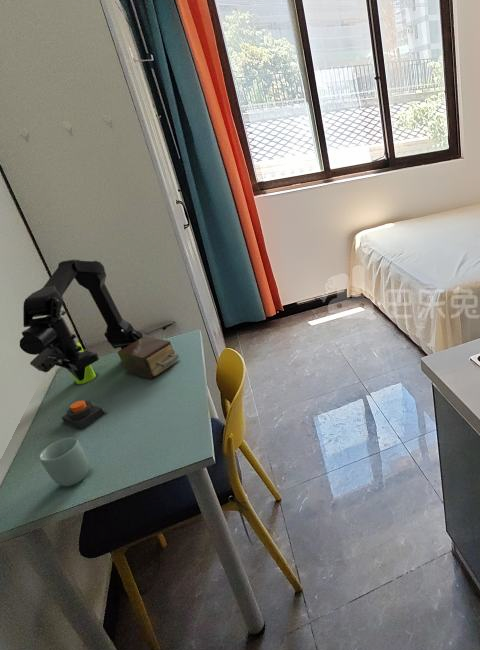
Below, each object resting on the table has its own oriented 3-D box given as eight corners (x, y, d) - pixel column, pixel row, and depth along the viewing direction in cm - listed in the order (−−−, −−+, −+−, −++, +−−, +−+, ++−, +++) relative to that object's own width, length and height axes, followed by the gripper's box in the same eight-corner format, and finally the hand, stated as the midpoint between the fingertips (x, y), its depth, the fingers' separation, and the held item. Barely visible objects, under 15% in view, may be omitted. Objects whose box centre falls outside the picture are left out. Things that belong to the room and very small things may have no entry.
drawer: (186, 363, 155) (180, 346, 152) (163, 378, 147) (156, 361, 144) (154, 356, 162) (148, 340, 159) (131, 370, 154) (123, 354, 151)
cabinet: (177, 361, 158) (169, 341, 154) (152, 379, 149) (143, 357, 146) (152, 356, 164) (144, 336, 160) (126, 372, 155) (117, 351, 151)
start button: (70, 411, 131) (67, 406, 130) (82, 403, 134) (79, 399, 133) (77, 413, 130) (74, 409, 129) (89, 406, 133) (86, 401, 132)
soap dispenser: (84, 385, 150) (58, 335, 142) (72, 382, 153) (46, 332, 145) (101, 376, 155) (77, 326, 147) (89, 372, 158) (65, 323, 150)
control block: (64, 422, 133) (58, 412, 131) (87, 408, 138) (82, 397, 136) (82, 429, 129) (76, 418, 127) (105, 413, 134) (99, 403, 133)
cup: (75, 492, 106) (57, 461, 102) (49, 490, 108) (30, 459, 104) (101, 467, 113) (85, 437, 109) (76, 465, 115) (59, 436, 111)
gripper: (9, 345, 124) (35, 390, 130) (46, 355, 116) (72, 403, 122) (51, 326, 132) (73, 368, 139) (88, 334, 124) (110, 379, 131)
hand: (81, 379), depth 133 cm, fingers closed
